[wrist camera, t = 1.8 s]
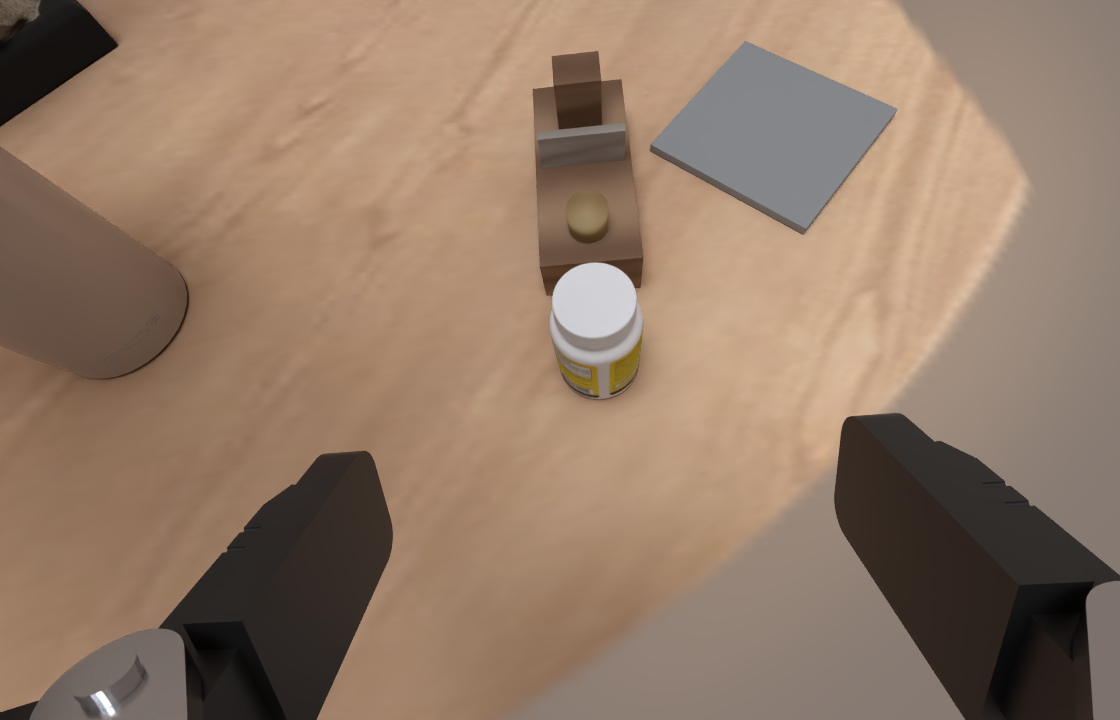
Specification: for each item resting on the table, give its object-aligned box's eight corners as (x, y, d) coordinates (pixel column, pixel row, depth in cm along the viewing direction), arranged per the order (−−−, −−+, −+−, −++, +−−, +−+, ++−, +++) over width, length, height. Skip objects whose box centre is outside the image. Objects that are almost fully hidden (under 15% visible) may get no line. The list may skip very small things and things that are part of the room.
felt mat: (650, 150, 38) (650, 144, 38) (743, 48, 41) (745, 40, 40) (803, 234, 35) (806, 228, 34) (893, 115, 37) (897, 109, 37)
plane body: (640, 287, 34) (646, 219, 28) (546, 295, 35) (531, 230, 28) (620, 119, 39) (622, 29, 33) (539, 128, 40) (525, 40, 33)
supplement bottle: (632, 324, 33) (639, 248, 26) (644, 396, 32) (654, 339, 24) (556, 333, 34) (539, 261, 26) (563, 405, 32) (547, 351, 24)
